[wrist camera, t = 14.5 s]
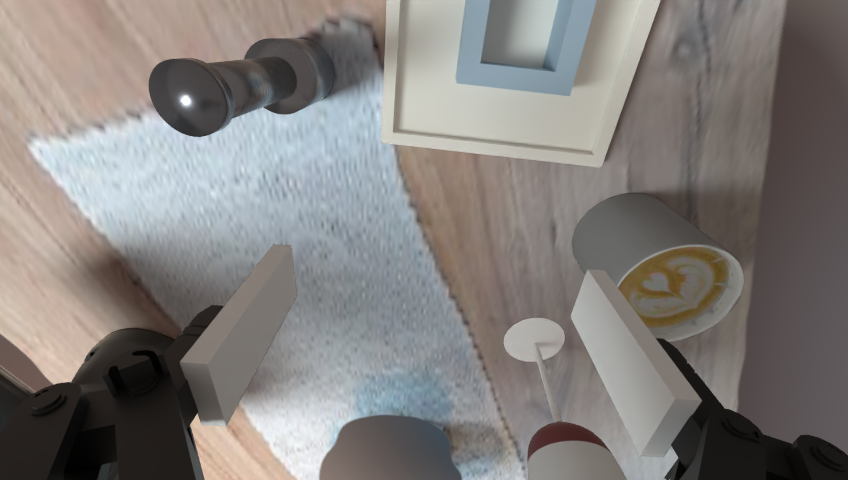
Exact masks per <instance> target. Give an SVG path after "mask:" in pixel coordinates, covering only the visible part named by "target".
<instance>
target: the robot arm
mask: <svg viewBox="0 0 848 480" xmlns="http://www.w3.org/2000/svg"><path fill="white" fill-rule="evenodd" d="M296 297H297V291H296V282H295V273H294V265H293V256H292V248H291V246H289V245H276V244H274V245H273V246H272V247H271V248H270V250H269V251H268V252H267V253H266V255H265V256H264V257H263V258H262V260H261V261H260V262H259V263H258V265H257V266H256V267H255V268H254V270H253V271H252V272H251V273H250V275H249V276H248V277H247V278H246V280H245V281H244V282H243V283H242V285H241V286H240V287H239V288H238V290H237V291H236V292H235V293H234V295H233V296H232V297H231V298H230V300H229V301H228V302H227V303H226V305H225V306H217V305H211V306H210V307H208V308H207V309H205V310H203V311H202V312H200V313H199V314H198V315H197V316H196V317H195V318H194V319H193V320H192V322H191V323H190V324H189V326H188V327H186V328H185V330H184V331H183V332H182V333H181V336H178V338H177V339H176V340H175V341H174V340H172V339H170V338H168V337H166V336H163V335H160V334H158V333H154V332H150V331H146V330H139V329H124V330H119V331H115V332H112V333H110V334H108V335H107V336H106V337H104V338H103V339H102V340H101V341H100V342H99V343H98V344H96V345H95V346H94V347H93V348H92V349H91V350H90V352H89V353H88V355H87V356H86V358H85V361H84V363H83V364H82V366H81V367H80V369H79V370H78V372H77V373H76V375H75V377H74V378H73V380H72V382H71V383H70V382H66V383H58V384H55V385H52V386H49V387H46V388H43V389H41V390H40V391H38V392H36V391H34V390H33V389H31V388H30V387H29V386H28V385H26V384H25V383H23V382H22V381H21V380H20V379H18V378H17V377H15V376H14V375H13V374H12V373H10V372H9V371H7V370H6V369H5V368H4V367H2V366H1V365H0V480H204V476H203V472H202V468H201V464H200V460H199V457H198V453H197V449H196V445H195V441H194V437H193V433H192V430H191V427H190V424H191V422H192V421H193V419H194V418H195V416H196V415H197V413H198V416H199V419H200V422H201V424H202V425H213V426H227V424H228V422H229V420H230V418H231V417H232V415H233V413H234V411H235V409H236V407H237V406H238V404H239V402H240V400H241V398H242V396H243V395H244V393H245V391H246V389H247V387H248V385H249V384H250V382H251V380H252V378H253V376H254V374H255V372H256V371H257V369H258V367H259V365H260V363H261V361H262V360H263V358H264V356H265V354H266V352H267V350H268V349H269V347H270V345H271V343H272V341H273V339H274V338H275V336H276V334H277V332H278V330H279V328H280V326H281V325H282V323H283V321H284V319H285V317H286V315H287V314H288V312H289V310H290V308H291V306H292V304H293V303H294V301H295V299H296ZM571 319H572V321H573V323H574V325H575V327H576V329H577V331H578V333H579V335H580V337H581V339H582V341H583V343H584V345H585V347H586V349H587V351H588V353H589V355H590V357H591V359H592V361H593V363H594V365H595V367H596V369H597V371H598V373H599V375H600V377H601V379H602V381H603V383H604V385H605V387H606V389H607V391H608V393H609V395H610V397H611V399H612V401H613V403H614V405H615V407H616V409H617V411H618V413H619V415H620V417H621V419H622V421H623V423H624V425H625V427H626V429H627V431H628V433H629V435H630V437H631V439H632V441H633V443H634V445H635V447H636V449H637V451H638V453H639V455H640V456H649V457H664V456H665V455H666V453H667V452H668V450H669V449H670V447H671V446H672V447H673V449H674V451H675V453H676V454H677V456H678V459H677V461H676V462H675V464H674V465H673V466H672V468H671V469H670V470H669V472H668V473H667V475H666V476H665V479H666V480H669V479H670V480H848V455H847V454H845V453H844V452H843V451H842V450H840V449H839V448H837V447H836V446H834V445H833V444H831V443H829V442H827V441H825V440H823V439H820V438H818V437H814V436H810V435H800V436H799V437H798V438H797V439H796V440H795V441H794V443H793V444H791V443H788V442H785V441H781V440H779V439H776V438H772V437H769V436H766V435H763V434H762V433H761V431H760V430H759V428H758V427H757V426H755V425H754V424H753V423H752V422H751V421H750V420H748V419H747V418H745V417H744V416H742V415H741V414H739V413H736V412H734V411H732V410H729V409H725V408H724V407H723V406H722V405H721V403H720V402H719V401H718V400H717V398H716V397H715V396H714V395H713V393H712V392H711V391H710V390H709V388H708V387H707V386H706V385H705V383H704V382H703V381H702V379H701V378H700V377H699V376H698V374H697V373H695V372H694V369H693V368H692V367H691V366H690V364H688V363H687V361H686V359H685V358H684V357H683V356H682V354H681V353H680V352H679V351H678V349H676V348H675V347H674V346H673V345H671V344H670V343H669V342H668V341H666V340H665V339H662V338H655V337H654V336H653V334H652V333H651V332H650V330H649V329H648V328H647V326H646V325H645V324H644V322H643V321H642V320H641V318H640V317H639V316H638V314H637V313H636V312H635V310H634V309H633V308H632V306H631V305H630V304H629V302H628V301H627V300H626V298H625V297H624V296H623V294H622V293H621V292H620V290H619V289H618V288H617V286H616V285H615V284H614V282H613V281H612V280H611V278H610V277H609V276H608V274H607V273H606V272H605V270H593V269H587V272H586V274H585V277H584V280H583V283H582V286H581V289H580V291H579V294H578V297H577V300H576V303H575V306H574V308H573V311H572V314H571Z"/></svg>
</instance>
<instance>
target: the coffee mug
mask: <svg viewBox="0 0 848 480" xmlns="http://www.w3.org/2000/svg"><path fill="white" fill-rule="evenodd" d="M572 249H573V254H574V256H575V259H576V260H577V262H578V264H579V265H580V267H581V269H582V270H583V272H584V274H586V272H587V269H593V270H605V272H606V273H607V274H608V276H609V277H610V278H611V280H612V281H613V282H614V284H615V285H616V286H617V288H618V289H619V290H620V292H621V293H622V294H623V296H624V297H625V298H626V300H627V301H628V302H629V304H630V305H631V306H632V308H633V309H634V310H635V312H636V313H637V314H638V316H639V317H640V318H641V320H642V321H643V322H644V324H645V325H646V326H647V328H648V329H649V330H650V332H651V333H652V334H653V336H654V337H655V338H662V339H665V340H666V341H668V342H673V341H678V340H683V339H686V338H689V337H692V336H695V335H697V334H699V333H701V332H704V331H705V330H707V329H709V328H710V327H712V326H714V325H715V324H717V323H718V322H719V321H721V320H722V319H723V318H724V317H725V316H726V315H727V314H728V313H729V312H730V311H731V310H732V309H733V307H734V306H735V304H736V303H737V301H738V299H739V297H740V295H741V293H742V290H743V285H744V274H743V270H742V268H741V265H740V264H739V262H738V261H737V260H736V258H735V257H734V256H733V255H732V254H731V253H729V252H728V251H727V250H725V249H724V248H723V247H722V246H720V245H719V244H718V243H716V242H715V241H714V240H712V239H711V238H710V237H708V236H707V235H706V234H704V233H703V232H702V231H700V230H699V229H698V228H696V227H695V226H694V225H692V224H691V223H690V222H688V221H687V220H686V219H684V218H683V217H682V216H680V215H679V214H678V213H676V212H675V211H674V210H672V209H671V208H670V207H668V206H667V205H666V204H664V203H663V202H662V201H660V200H659V199H657V198H655V197H653V196H650V195H646V194H641V193H628V194H621V195H617V196H614V197H611V198H609V199H606V200H604V201H602V202H601V203H599V204H597V205H596V206H594V207H593V208H592V209H591V210H590V211H589V212H588V213H587V214H586V215H585V216H584V217H583V218H582V219H581V220H580V222H579V224H578V225H577V227H576V229H575V232H574V235H573V240H572Z"/></svg>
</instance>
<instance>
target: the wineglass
mask: <svg viewBox="0 0 848 480" xmlns="http://www.w3.org/2000/svg"><path fill="white" fill-rule="evenodd" d="M564 340H565V335H564V331H563V329H562V328H561V327H560V326H559V325H558V324H557V323H555V322H554V321H552V320H548V319H545V318H530V319H525V320H522V321H520V322H518V323H516V324H514V325H513V326H512V327H511V328H510V329H509V330H508V331H507V333H506V335H505V336H504V347H505V349H506V351H507V352H508V353H509V354H510V356H512V357H514V358H516V359H517V360H521V361H525V362H537V364H538V368H539V371H540V375H541V378H542V382H543V385H544V389H545V392H546V396H547V399H548V403H549V406H550V410H551V413H552V417H553V420H554V423H551V424H548V425H546V426H544V427H543V428H541V429H540V430H538V431H537V432H536V434H535V435H534V436H533V437H532V439H531V441H530V444H529V448H528V480H627V479H626V477H625V475H624V473H623V471H622V470H621V468H620V466H619V464H618V463H617V461H616V459H615V458H614V456H613V455H612V453H611V452H610V450H609V449H608V448H607V446H606V445H605V444H604V443H603V441H602V440H601V439H600V438H599V437H597V436H596V435H595V434H594V433H593V432H591V431H589V430H588V429H586V428H584V427H581V426H579V425H576V424H572V423H567V422H562V420H561V417H560V414H559V410H558V407H557V404H556V401H555V397H554V394H553V391H552V387H551V384H550V381H549V378H548V374H547V371H546V368H545V365H544V361H543V360H546V359H548V358H550V357H552V356H554V355H555V354H556V353H557V352H559V351H560V349H561V348H562V346H563V345H564Z"/></svg>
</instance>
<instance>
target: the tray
mask: <svg viewBox="0 0 848 480" xmlns="http://www.w3.org/2000/svg"><path fill="white" fill-rule="evenodd" d="M660 1H661V0H597V1H596V5H595V9H594V12H593V16H592V19H591V23H590V26H589V30H588V33H587V37H586V40H585V44H584V48H583V51H582V55H581V58H580V62H579V65H578V69H577V72H576V76H575V80H574V83H573V87H572V90H571V94H570V96H563V95H554V94H545V93H537V92H528V91H519V90H510V89H502V88H493V87H484V86H475V85H467V84H458V83H456V79H455V76H456V69H457V61H458V54H459V46H460V38H461V31H462V23H463V15H464V8H465V0H387V8H386V33H385V57H384V82H383V106H382V131H381V143H388V144H397V145H406V146H415V147H424V148H432V149H441V150H450V151H459V152H468V153H477V154H485V155H494V156H503V157H512V158H521V159H529V160H538V161H547V162H556V163H565V164H574V165H582V166H591V167H600V168H601V167H602V164H603V161H604V159H605V156H606V153H607V150H608V147H609V144H610V142H611V139H612V136H613V133H614V130H615V128H616V125H617V122H618V119H619V116H620V113H621V111H622V108H623V105H624V102H625V99H626V97H627V94H628V91H629V88H630V85H631V82H632V80H633V77H634V74H635V71H636V68H637V66H638V63H639V60H640V57H641V54H642V51H643V49H644V46H645V43H646V40H647V37H648V35H649V32H650V29H651V26H652V23H653V20H654V18H655V15H656V12H657V9H658V6H659V3H660ZM557 4H558V0H490V5H489V11H488V18H487V24H486V30H485V37H484V43H483V49H482V55H481V61H485V62H494V63H503V64H511V65H520V66H529V67H537V68H543V63H544V59H545V55H546V51H547V47H548V42H549V38H550V34H551V30H552V25H553V21H554V17H555V13H556V9H557Z"/></svg>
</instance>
